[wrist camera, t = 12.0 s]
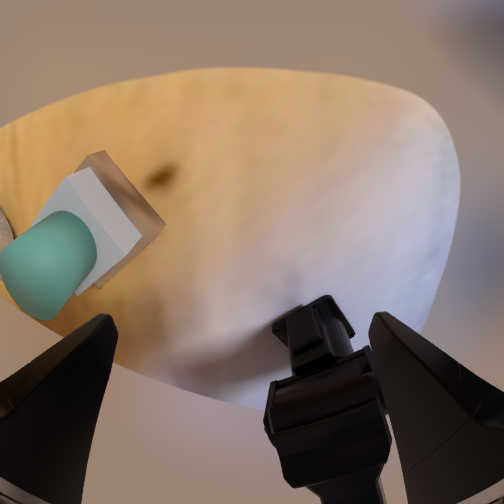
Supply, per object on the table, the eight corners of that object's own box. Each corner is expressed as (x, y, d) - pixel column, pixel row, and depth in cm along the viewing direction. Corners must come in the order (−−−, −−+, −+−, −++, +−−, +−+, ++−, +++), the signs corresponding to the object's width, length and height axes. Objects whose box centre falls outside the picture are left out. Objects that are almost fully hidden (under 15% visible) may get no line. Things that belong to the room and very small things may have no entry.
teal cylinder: (110, 253, 16) (71, 300, 11) (75, 287, 17) (42, 331, 12) (63, 195, 14) (11, 227, 9) (34, 237, 15) (-7, 273, 11)
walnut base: (167, 222, 21) (156, 237, 18) (112, 271, 23) (98, 289, 21) (107, 149, 18) (87, 155, 15) (59, 210, 20) (40, 222, 18)
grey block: (142, 235, 18) (126, 255, 16) (94, 276, 20) (77, 296, 17) (89, 166, 16) (65, 176, 13) (48, 217, 17) (26, 232, 15)
